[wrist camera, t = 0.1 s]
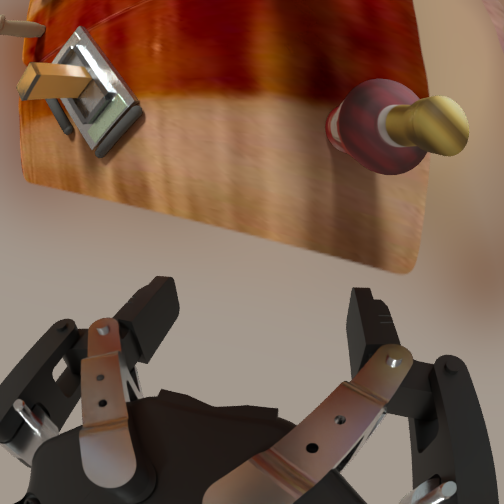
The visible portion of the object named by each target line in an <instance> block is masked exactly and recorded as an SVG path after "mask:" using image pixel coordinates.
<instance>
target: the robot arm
mask: <svg viewBox="0 0 504 504" xmlns="http://www.w3.org/2000/svg"><path fill="white" fill-rule="evenodd" d="M179 309H180V307H179V301H178V296H177V292H176V286H175V282H174V279H173V278H172V277H164V276H156V277H155V278H154V279H153V280H152V281H151V283H150V284H149V285H146V286H145V287H143V288H141V289H139V290H138V291H137V292H136V293H135V294H134V295H133V296H132V298H130V299H129V301H128V303H126V304H125V305H124V306H123V307H122V308H121V309H120V310H119V311H118V312H117V314H116V315H115V316H114V317H113V318H102V319H100V320H97V321H95V322H94V323H93V324H92V325H91V326H90V327H89V329H77V326H76V324H75V322H74V321H73V320H71V319H63V320H60V321H58V322H56V323H55V324H53V326H51V327H50V329H49V330H48V331H47V332H46V333H45V334H44V335H43V336H42V337H41V338H40V339H39V341H37V342H36V344H35V345H34V346H33V347H32V348H31V349H30V350H29V351H28V352H27V354H26V355H25V356H24V357H23V359H21V360H20V362H19V363H18V364H17V365H16V366H15V368H14V369H13V370H12V371H11V372H10V374H9V375H8V376H7V377H6V378H5V380H4V381H3V382H2V383H1V385H0V445H1V446H2V447H3V448H5V449H6V450H7V451H8V452H9V453H10V454H11V455H13V456H14V457H16V458H17V459H18V460H20V461H21V462H22V463H23V464H25V465H26V466H27V467H30V468H31V476H30V482H29V487H28V490H27V493H26V495H25V496H24V498H23V499H22V500H20V501H19V502H17V503H14V504H367V503H366V502H365V501H364V500H363V499H362V498H361V497H360V495H359V494H358V493H357V492H356V491H355V490H354V489H353V488H352V486H351V485H350V484H349V483H348V482H347V481H346V480H345V478H344V477H343V476H342V475H341V474H340V473H341V472H342V471H343V470H344V469H345V468H346V466H347V465H348V464H349V463H350V462H351V461H352V459H353V458H354V457H355V456H356V454H357V453H358V452H359V450H360V449H361V448H362V446H363V445H364V444H365V443H366V441H367V440H368V439H369V438H370V436H371V435H372V434H373V432H374V431H375V430H376V428H377V427H378V426H379V424H380V423H381V422H382V420H383V419H384V417H385V416H386V415H387V413H390V414H395V415H400V416H404V417H408V421H409V430H410V441H411V454H412V473H413V491H411V492H410V493H408V494H407V495H405V496H404V497H403V498H402V500H401V501H400V503H399V504H499V501H498V500H499V499H498V489H497V481H496V474H495V467H494V461H493V456H492V451H491V446H490V442H489V437H488V433H487V429H486V425H485V421H484V418H483V414H482V411H481V407H480V404H479V401H478V398H477V395H476V392H475V389H474V386H473V383H472V380H471V377H470V374H469V372H468V369H467V367H466V365H465V363H464V362H463V361H462V360H461V359H459V358H458V357H456V356H452V355H443V356H441V357H439V358H438V359H437V360H436V361H435V363H434V364H429V363H424V362H419V361H416V360H414V359H413V356H412V354H411V352H410V351H409V350H408V349H406V348H405V347H403V346H401V344H400V341H399V338H398V335H397V332H396V329H395V326H394V323H393V320H392V317H391V314H390V311H389V309H388V306H387V305H385V303H384V302H383V301H382V300H374V299H373V296H372V293H371V290H370V288H354V287H353V288H352V291H351V298H350V304H349V309H348V315H347V324H346V330H347V338H348V347H349V356H350V366H351V377H352V380H351V381H350V382H347V381H344V382H342V383H341V384H340V385H339V386H338V387H337V388H336V389H335V390H334V391H333V392H332V393H331V394H330V395H329V396H328V397H327V398H326V399H325V400H324V401H323V402H322V403H321V404H320V405H319V406H318V407H317V408H316V409H315V410H314V411H313V412H312V413H311V414H309V415H308V416H307V417H306V418H305V419H304V420H303V421H302V422H301V423H299V425H295V424H293V423H292V422H290V421H287V420H285V419H282V418H279V417H278V408H267V407H258V406H249V405H244V406H229V407H228V406H227V407H214V406H211V405H208V404H206V403H203V402H201V401H199V400H197V399H195V398H192V397H191V396H188V395H185V394H180V393H176V392H172V391H168V390H164V389H161V391H160V392H159V395H158V396H157V397H146V398H144V397H143V394H142V389H141V385H140V381H139V377H138V372H137V368H136V366H135V364H136V363H137V361H138V362H141V363H145V364H148V362H149V361H150V359H151V358H152V356H153V354H154V353H155V351H156V350H157V348H158V347H159V345H160V344H161V342H162V341H163V339H164V337H165V336H166V334H167V333H168V331H169V330H170V328H171V327H172V325H173V324H174V322H175V320H176V319H177V317H178V315H179ZM62 357H63V359H64V361H65V363H66V364H67V368H66V369H65V370H64V372H63V373H62V374H61V376H60V377H59V378H58V380H57V381H56V382H55V381H54V379H53V376H52V372H53V369H54V367H55V366H56V365H57V364H58V362H59V361H60V360H61V358H62ZM80 398H81V403H82V420H83V425H81V426H78V427H76V428H74V429H72V430H69V431H67V432H64V433H62V434H60V435H59V431H60V430H61V428H62V426H63V425H64V423H65V421H66V420H67V418H68V417H69V415H70V413H71V412H72V410H73V409H74V407H75V406H76V404H77V402H78V401H79V399H80Z"/></svg>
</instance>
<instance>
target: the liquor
mask: <svg viewBox="0 0 504 504" xmlns="http://www.w3.org/2000/svg"><path fill="white" fill-rule="evenodd" d="M325 129H326V134H327V137H328V139H329V141H330V142H331V144H332V145H333V146H334V147H335V148H336V149H338V150H340V151H341V152H344V153H348V154H349V155H351V156H352V157H353V158H354V159H355V160H357V161H358V162H359V163H360V164H361V165H363V166H364V167H366V168H367V169H369V170H371V171H374V172H376V173H379V174H384V175H397V174H402V173H405V172H407V171H410V170H412V169H413V168H414V167H416V166H417V165H418V164H419V163H420V162H421V161H422V160H423V158H424V157H425V155H426V153H427V152H430V153H435V154H439V155H443V156H454V155H456V154H458V153H459V152H461V151H462V150H463V149H464V147H465V146H466V144H467V141H468V137H469V125H468V121H467V118H466V115H465V114H464V112H463V110H462V109H461V107H460V106H459V105H458V104H457V103H456V102H455V101H454V100H452V99H450V98H448V97H446V96H433V97H428V98H424V99H419V98H418V97H417V96H416V95H415V94H414V93H413V92H412V91H411V90H410V89H408V88H407V87H405V86H404V85H402V84H400V83H398V82H395V81H392V80H388V79H373V80H368V81H365V82H363V83H360V84H359V85H358V86H356V87H355V88H353V89H352V90H351V92H350V93H349V94H348V95H347V96H346V98H345V99H344V101H343V102H342V103H341V105H340V106H338V107H336V108H335V109H333V110H332V111H331V112H330V114H329V115H328V117H327V120H326V125H325Z"/></svg>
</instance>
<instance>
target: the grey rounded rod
mask: <svg viewBox="0 0 504 504" xmlns="http://www.w3.org/2000/svg"><path fill="white" fill-rule="evenodd" d="M46 101H47V103H48V105H49V107H50V109H51V111H52V112H53V114H54V116H55V118H56V120H57V121H58V123H59V125H60V127H61V128H62V130H63V132H64V133H65V134H66V135H69V134H71V133H72V131H73V127H72V125H71V123H70V122H69V120H68V118H67V117H66V115H65V113H64V111H63V110H62V108H61V106H60V104H59V103H58V101H57V99H56V98H51V99H46Z"/></svg>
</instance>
